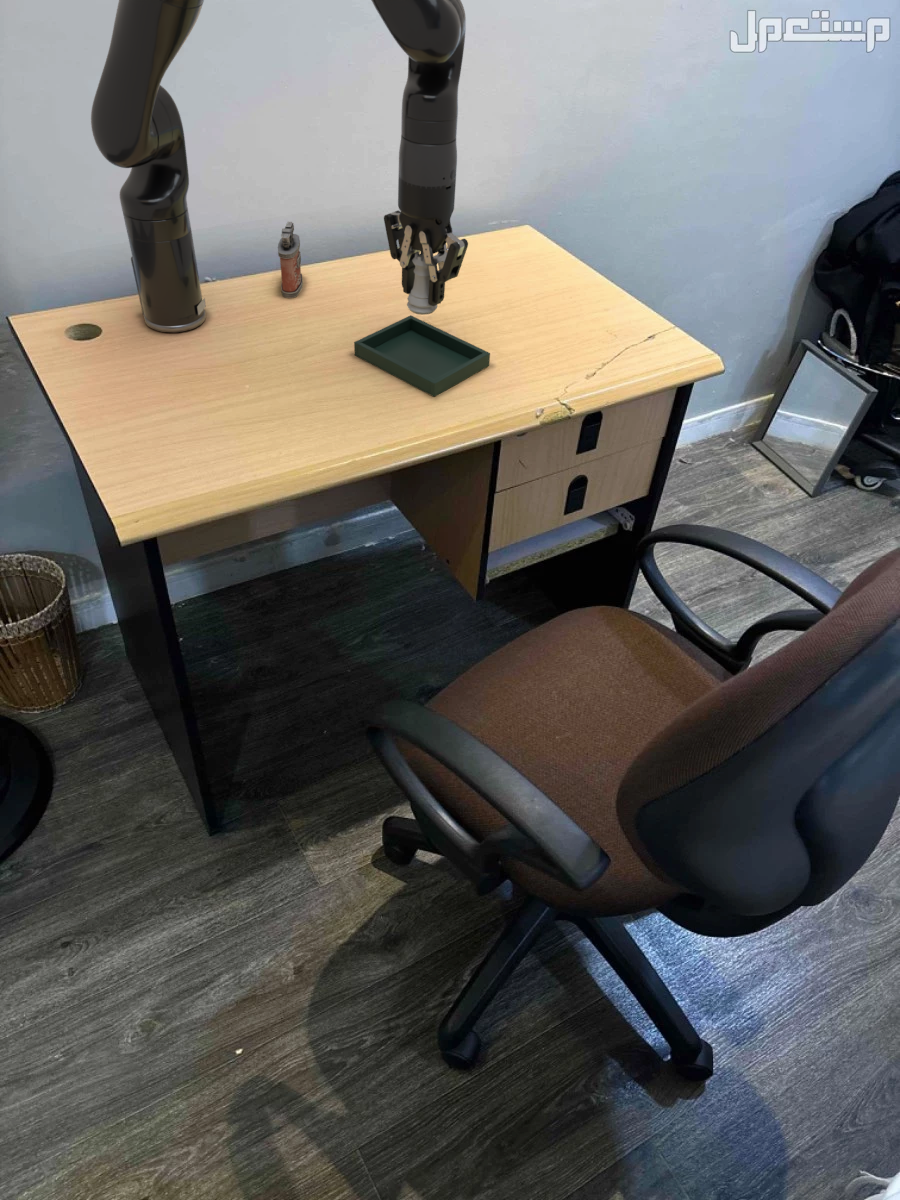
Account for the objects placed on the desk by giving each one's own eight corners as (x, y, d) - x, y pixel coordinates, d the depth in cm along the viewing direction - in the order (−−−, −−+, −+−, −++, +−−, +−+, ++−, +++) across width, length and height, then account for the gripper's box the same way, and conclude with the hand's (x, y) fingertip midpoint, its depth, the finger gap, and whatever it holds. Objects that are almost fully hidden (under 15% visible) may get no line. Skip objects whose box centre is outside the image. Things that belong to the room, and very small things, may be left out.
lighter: (299, 298, 147) (294, 238, 140) (278, 297, 147) (273, 237, 140) (305, 277, 153) (301, 219, 145) (285, 276, 152) (280, 217, 145)
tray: (354, 355, 135) (353, 342, 133) (410, 327, 142) (410, 314, 140) (434, 397, 127) (434, 383, 126) (489, 365, 134) (490, 353, 133)
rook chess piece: (443, 309, 127) (446, 255, 122) (422, 318, 125) (424, 264, 119) (421, 298, 129) (423, 244, 124) (400, 307, 127) (401, 253, 121)
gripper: (368, 164, 115) (368, 288, 127) (449, 196, 109) (442, 324, 121) (407, 151, 119) (404, 273, 131) (487, 182, 113) (477, 307, 125)
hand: (422, 297), depth 126 cm, fingers closed on rook chess piece, 4 cm apart
